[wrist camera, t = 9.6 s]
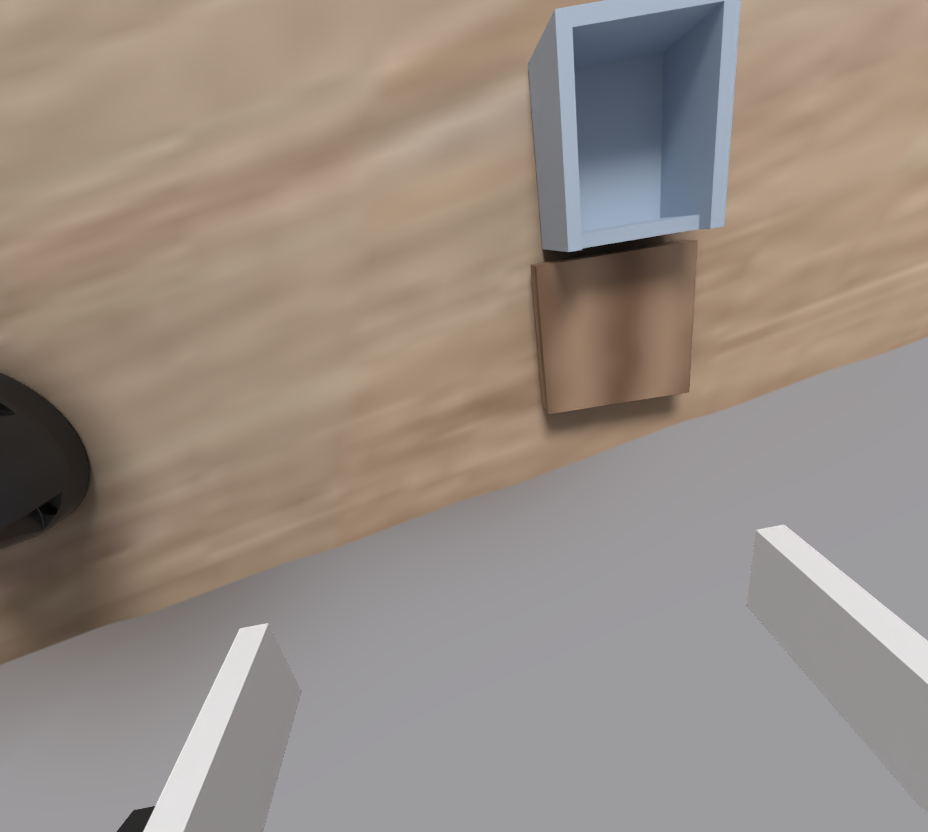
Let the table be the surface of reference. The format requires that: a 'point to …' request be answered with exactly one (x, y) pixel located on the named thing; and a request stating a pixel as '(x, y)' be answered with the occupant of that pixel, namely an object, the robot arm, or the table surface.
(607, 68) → the slide box
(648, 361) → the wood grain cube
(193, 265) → the table surface
